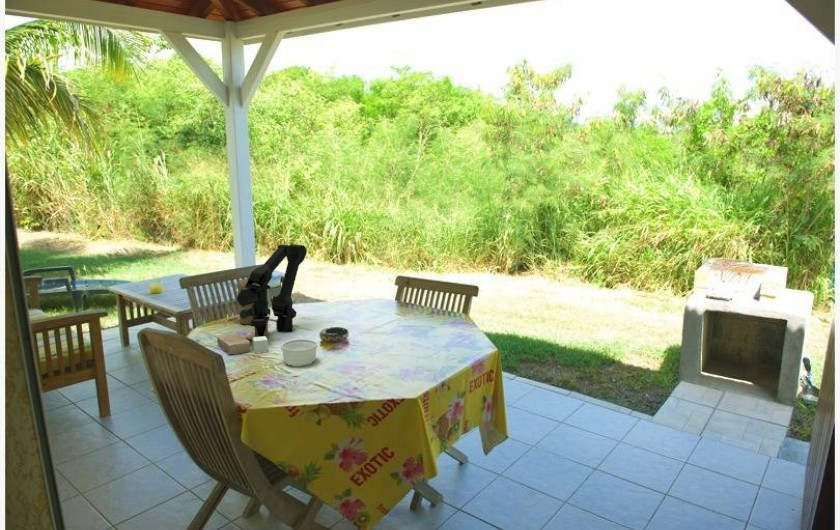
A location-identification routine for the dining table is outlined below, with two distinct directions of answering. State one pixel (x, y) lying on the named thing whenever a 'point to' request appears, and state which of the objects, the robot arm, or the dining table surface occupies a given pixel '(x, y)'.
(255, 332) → the walnut block
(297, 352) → the ramekin
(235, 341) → the brick
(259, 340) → the grey block
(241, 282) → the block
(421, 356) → the dining table surface
